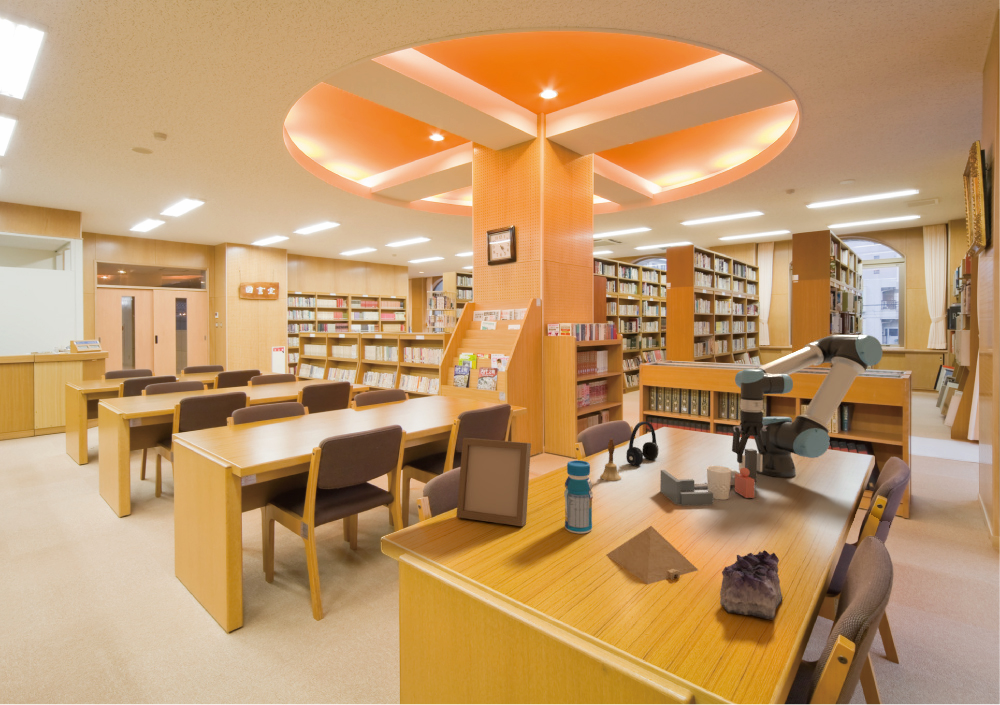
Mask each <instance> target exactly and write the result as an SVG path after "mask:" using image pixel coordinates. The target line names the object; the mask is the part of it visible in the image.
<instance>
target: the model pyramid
mask: <svg viewBox="0 0 1000 705" xmlns="http://www.w3.org/2000/svg"><path fill="white" fill-rule="evenodd" d="M606 556H607V557H608V558H610V559H611V560H612V561H614V562H615V563H617V564H618V565H620V567H622V568H623V569H625V570H627V571H628V572H629V573H630V574H632V575H633V576H635V577H637V579H639V580H640V581H642V582H643V583H645V584H646V585H651V584H655V583H658V582H662V581H665V580H668V579H670V580H671V581H672V580H675V578H677V579H680V576H682V575H687V574H690V573H693V572H697V571H699V569H698V568H697V567H696V566H695V565H694V564H693V563H692V562H690V561H689V560H688V559H687V557H685V556H684V555H683V554H682V553H681V552H680V551H679V550H678V549H676V547H674V545H672V544H671V543H670V542H669V541H668V540H667V539H666V538H665V537H664V536H662V534H661V533H660V532H659V531H657V529H655V528H654V527H653V526H652V525H649V527H647V528H645V529H643V530H642V531H640V532H639V533H638V534H636V535H634V536H633V537H632V538H630V539H628V540H627V541H625V542H624V543H622V544H621V545H619V546H617V547H616V548H614V549H613V550H611V551H609V552H608V553H606Z"/></svg>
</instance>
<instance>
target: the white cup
mask: <svg viewBox="0 0 1000 705" xmlns="http://www.w3.org/2000/svg"><path fill="white" fill-rule="evenodd" d="M731 469H732V468H729V467H726V466H722V465H721V466H720V465H709V466H707V467H706V476H707V477H706V478H707V479H706V480H707V481H706V482H707V483H706V484H708V489H707V492H712V493H713V499H716V500H728V499H729V498H730V490H731V488H730V483H731Z"/></svg>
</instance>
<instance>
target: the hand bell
mask: <svg viewBox="0 0 1000 705" xmlns="http://www.w3.org/2000/svg"><path fill="white" fill-rule="evenodd" d="M615 446H616V445H615V441H614V439H613V438H609V441H608V444H607V451H608V462H607V463H605V465H604V470H603V472H602V474H600V479H601V480H603V481H609V482H618V481H620V480H622V477H621V475H620V474H619V473H618V467H617V464H616V463H614V453H615Z"/></svg>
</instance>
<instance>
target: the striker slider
mask: <svg viewBox="0 0 1000 705" xmlns="http://www.w3.org/2000/svg"><path fill="white" fill-rule="evenodd" d="M757 453H758V449H755V448H745V449H744V455H745V468H741V469H740V471H736V470H734V469H733V468H730V469H731V483H730V485H735V488H734V492H736V493H737V494H739V495H740V496H742V497H743V498H745V499H749V498H750V499H751V498H755V483H757V473H758V472H757Z"/></svg>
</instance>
